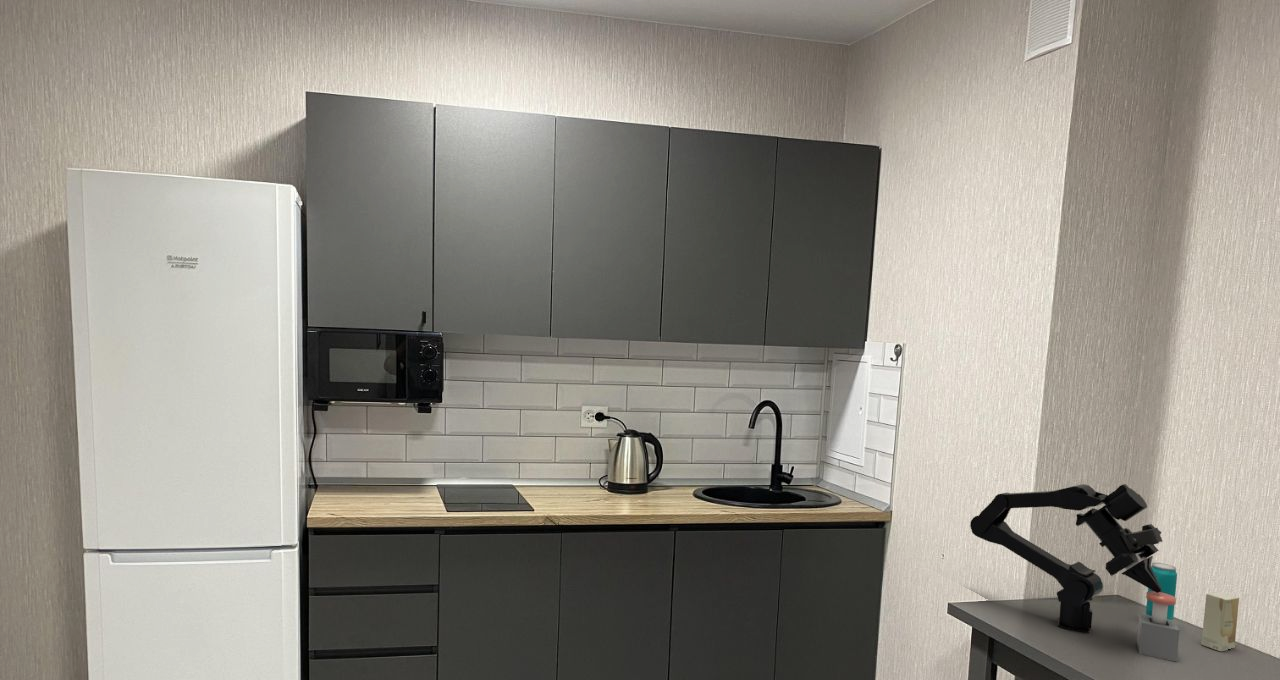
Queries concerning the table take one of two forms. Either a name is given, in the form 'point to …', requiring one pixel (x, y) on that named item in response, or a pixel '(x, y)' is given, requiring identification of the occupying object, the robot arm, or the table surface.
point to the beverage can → (1164, 585)
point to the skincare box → (1220, 621)
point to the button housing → (1158, 638)
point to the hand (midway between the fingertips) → (1159, 591)
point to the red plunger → (1160, 606)
